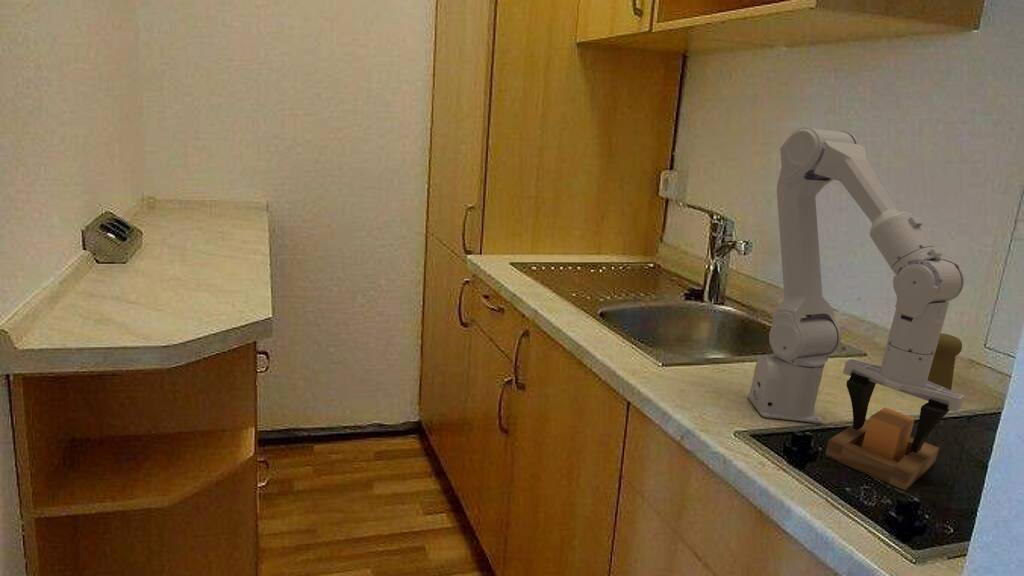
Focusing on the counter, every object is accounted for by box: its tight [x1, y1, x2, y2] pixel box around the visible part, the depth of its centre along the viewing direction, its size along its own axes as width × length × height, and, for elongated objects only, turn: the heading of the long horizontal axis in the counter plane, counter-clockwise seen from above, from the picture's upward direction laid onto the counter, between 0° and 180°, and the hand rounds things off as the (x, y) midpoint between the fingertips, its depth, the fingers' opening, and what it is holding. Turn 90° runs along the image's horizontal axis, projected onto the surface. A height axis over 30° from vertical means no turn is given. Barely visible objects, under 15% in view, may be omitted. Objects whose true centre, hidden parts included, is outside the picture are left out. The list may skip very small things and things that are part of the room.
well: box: [824, 419, 940, 491], centre depth 98 cm, size 12×10×2 cm
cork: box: [927, 332, 963, 391], centre depth 126 cm, size 6×6×11 cm
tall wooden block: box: [862, 407, 916, 462], centre depth 97 cm, size 6×4×6 cm, turn 134°
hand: (885, 438), depth 97 cm, fingers open, 7 cm apart
